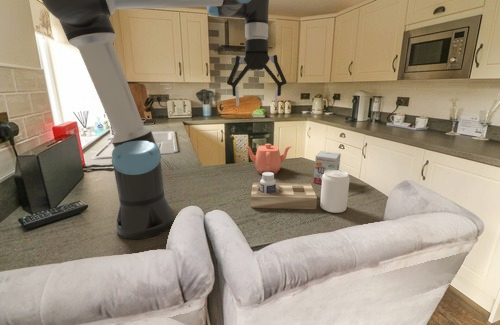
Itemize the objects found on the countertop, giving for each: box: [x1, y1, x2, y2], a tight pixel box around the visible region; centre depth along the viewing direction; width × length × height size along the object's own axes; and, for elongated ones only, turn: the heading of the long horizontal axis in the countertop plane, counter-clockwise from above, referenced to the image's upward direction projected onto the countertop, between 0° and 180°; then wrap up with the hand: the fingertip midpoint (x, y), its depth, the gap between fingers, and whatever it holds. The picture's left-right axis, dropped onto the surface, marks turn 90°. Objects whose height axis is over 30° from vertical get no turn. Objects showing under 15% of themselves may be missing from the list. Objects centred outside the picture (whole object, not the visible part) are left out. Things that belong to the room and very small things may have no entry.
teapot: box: [243, 143, 293, 175], centre depth 117 cm, size 15×17×13 cm
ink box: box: [313, 150, 342, 185], centre depth 103 cm, size 9×9×12 cm
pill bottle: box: [259, 171, 277, 193], centre depth 87 cm, size 5×5×10 cm
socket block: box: [250, 182, 318, 210], centre depth 87 cm, size 12×21×4 cm, turn 86°
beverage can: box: [319, 169, 351, 214], centre depth 80 cm, size 8×8×12 cm
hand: (256, 106), depth 89 cm, fingers open, 13 cm apart
